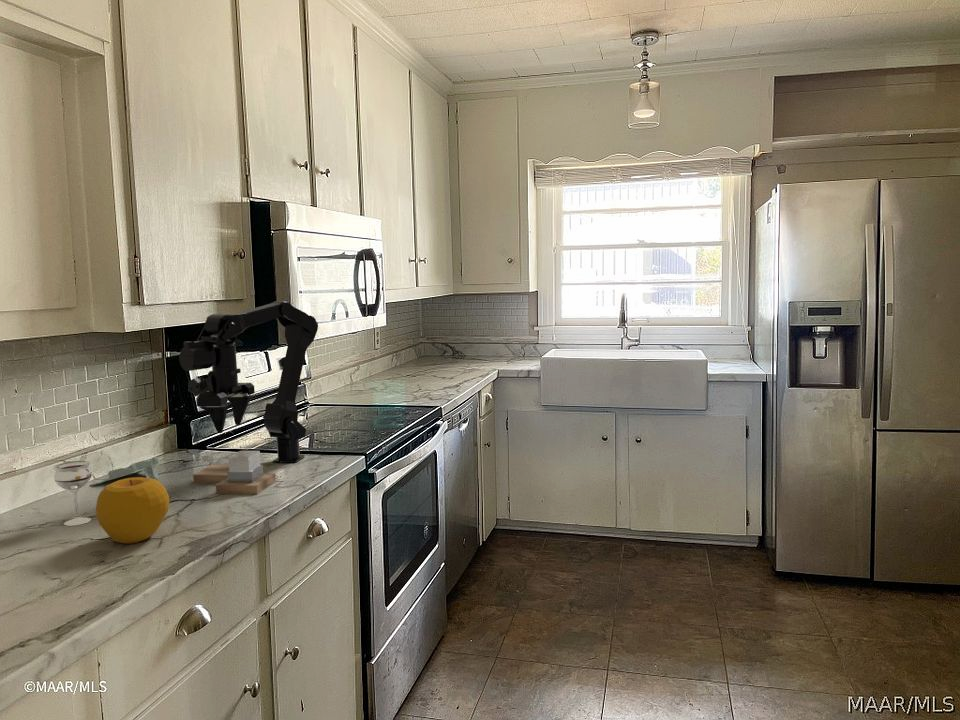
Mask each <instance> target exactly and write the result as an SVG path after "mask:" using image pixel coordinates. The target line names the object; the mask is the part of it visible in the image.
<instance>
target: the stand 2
mask: <svg viewBox="0 0 960 720" xmlns="http://www.w3.org/2000/svg"><path fill="white" fill-rule="evenodd" d="M276 478H277V477H276V473H274V472H271V473H268V472H266V473H265V472H264V476H262V477H261V478H259V479H258V480H256V481H254V482H253V483H228V478H227V479H225V480H223V481H222V482H220V483H215V493H216V494H225V495H230V494H231V495H232V494H233V495H236V494H237V495H258V494H260V493H262V492H263V491H264V490H266V489H267V488H268V487H270V486H271V485H273V484H275V483H276V482H277V481H276V480H277V479H276Z"/></svg>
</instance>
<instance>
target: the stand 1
mask: <svg viewBox="0 0 960 720" xmlns="http://www.w3.org/2000/svg"><path fill="white" fill-rule="evenodd" d="M228 471H229V463H213V464H211V465H209V466H207V467H206V468H203V469H202V470H199V471H197V472H196V473H194V474H192V479H193V484H218V483H220V482H222V481H223V480H225V479H227V478H228V477H227V472H228Z"/></svg>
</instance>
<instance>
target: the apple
mask: <svg viewBox="0 0 960 720" xmlns="http://www.w3.org/2000/svg"><path fill="white" fill-rule="evenodd" d="M170 502H171V501H170V496H169V494H168V491H167V489H166V488H165V486H164V485H163V484H162V483H161V482H160V481H158V479H157V480H156V479H151V478H146V477H143V476H140V477H139V476H137V477H127V478H122V479H119V480H116V481H114V482H112V483H109V484H107V485H105V487H104V488H103V489H102V490H101V491H100V493H98V496H97V499H96V506H95V515H96V519H97V521H98V523H99V524H98V525H100V527H101V528H102V530H104V532H105V533H106V534H107V536H108V537H109V538H110V539H111V540H113V541H114V542H117V543H120V544H129V545H130V544H136V543H139V542H142V541H145V540H146V539H148V538H149V537H151V536H153V535H154V534H155V533H157V531H158V530H159V528H160V526H161V524H162V523H163V522H164V519H165V517H166V515H167V514H168V512H169V508H170Z"/></svg>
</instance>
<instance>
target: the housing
mask: <svg viewBox="0 0 960 720" xmlns="http://www.w3.org/2000/svg"><path fill="white" fill-rule="evenodd" d="M228 464H229V471H228V472H227V477H228V483H253V482H254V481H256V480H258V479H259V478H261V477H262V476H264V473H265V472H264V465H263V464H262V463H261V451H260V450H239V451H237V452H236V453H233V454H232V455H230V456H228Z"/></svg>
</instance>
